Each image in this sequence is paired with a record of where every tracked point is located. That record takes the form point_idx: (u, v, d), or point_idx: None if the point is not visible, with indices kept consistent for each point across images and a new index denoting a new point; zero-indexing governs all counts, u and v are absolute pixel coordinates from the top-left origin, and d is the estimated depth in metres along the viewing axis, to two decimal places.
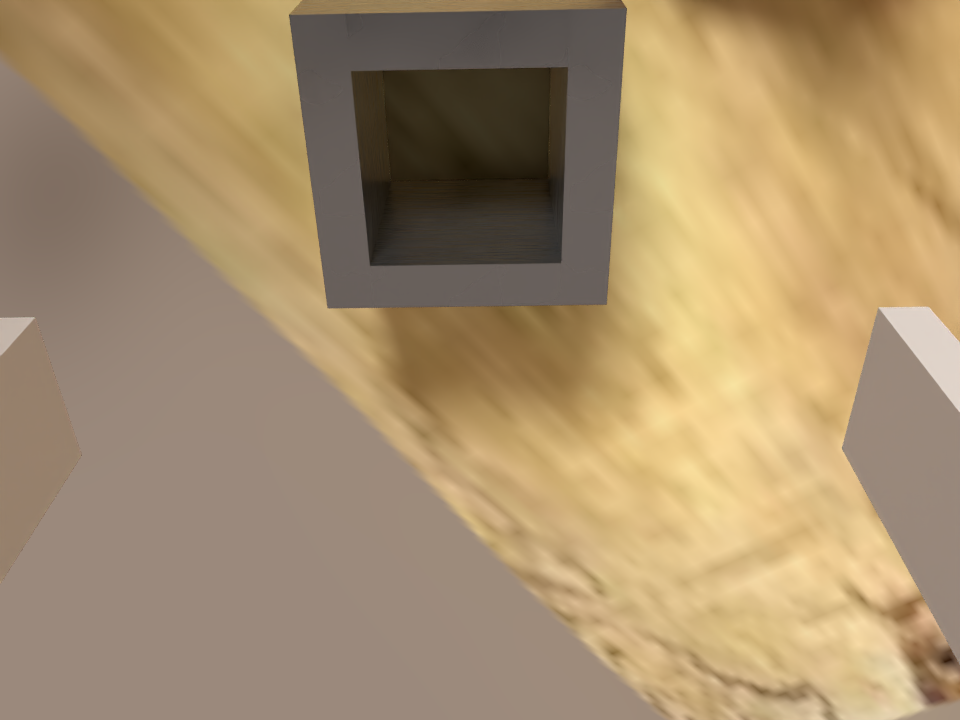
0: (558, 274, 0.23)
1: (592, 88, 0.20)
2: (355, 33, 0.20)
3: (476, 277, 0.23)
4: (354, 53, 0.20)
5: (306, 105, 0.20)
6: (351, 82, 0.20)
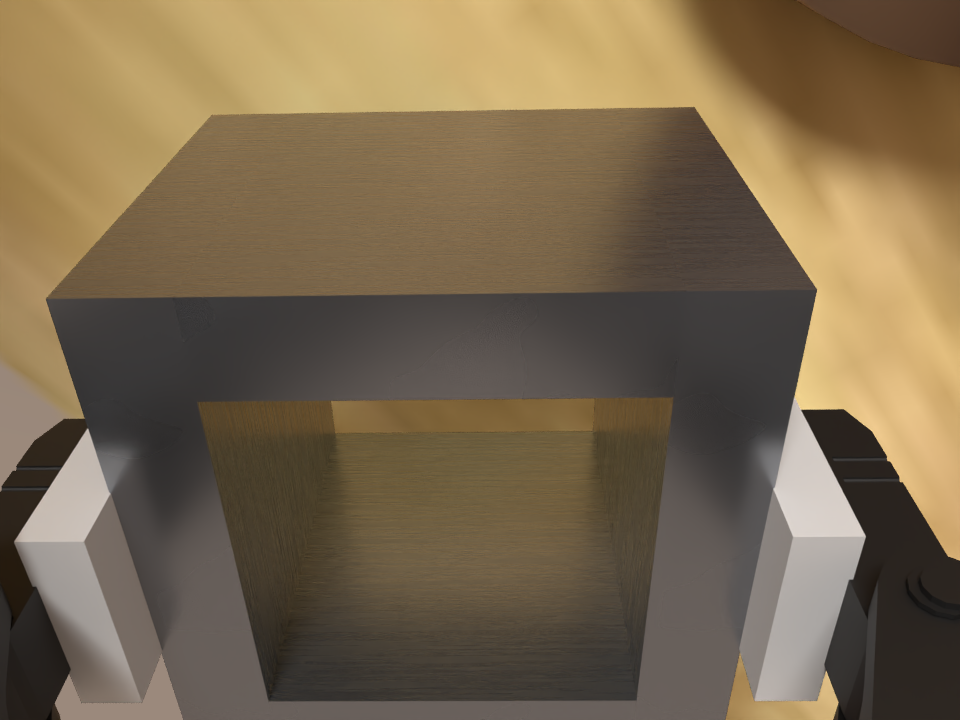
0: (630, 715, 0.12)
1: (722, 433, 0.09)
2: (201, 334, 0.09)
3: (473, 718, 0.12)
4: (202, 370, 0.09)
5: (109, 459, 0.10)
6: (201, 420, 0.09)
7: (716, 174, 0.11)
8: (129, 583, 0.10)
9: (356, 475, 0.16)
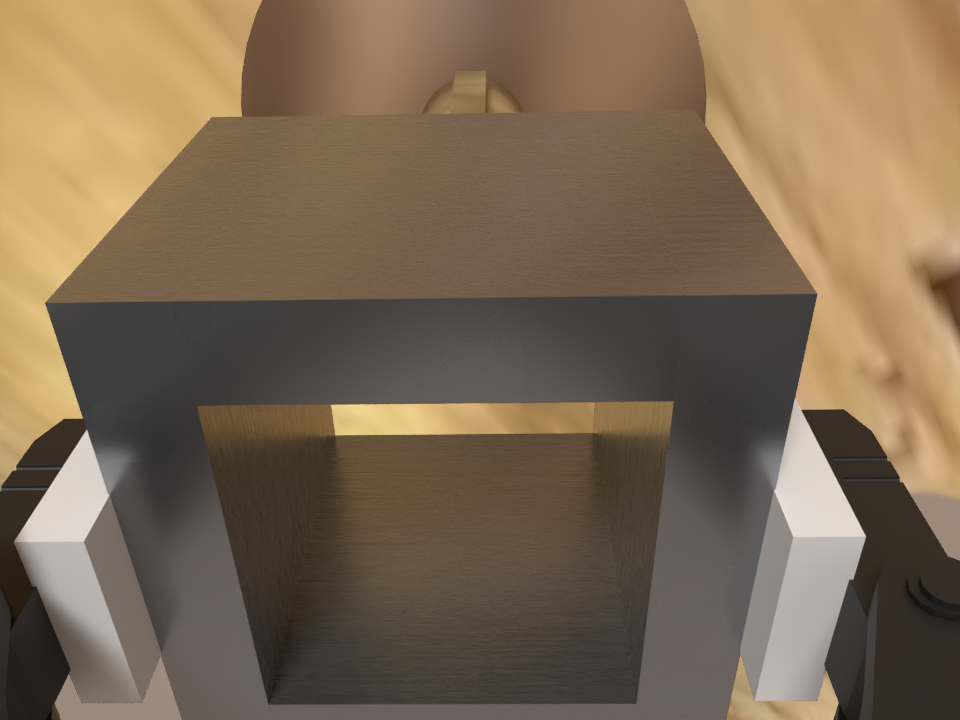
0: (630, 719, 0.12)
1: (723, 438, 0.09)
2: (201, 338, 0.09)
3: None
4: (201, 374, 0.09)
5: (108, 464, 0.10)
6: (201, 424, 0.09)
7: (717, 178, 0.11)
8: (129, 583, 0.10)
9: (356, 477, 0.16)
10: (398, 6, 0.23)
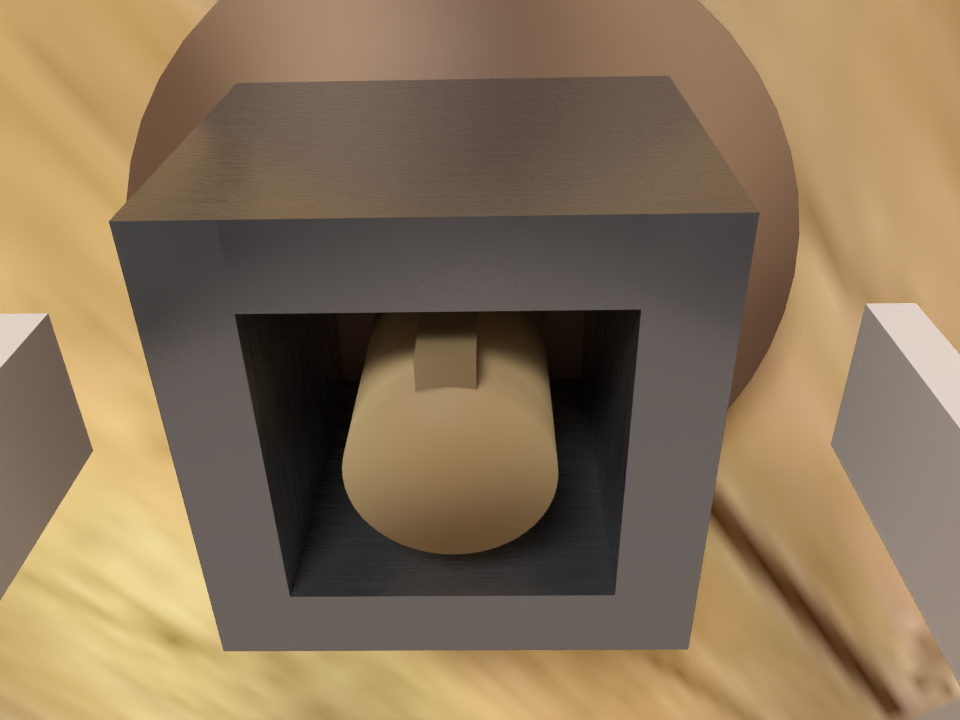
0: (609, 610, 0.13)
1: (684, 344, 0.11)
2: (239, 253, 0.10)
3: (470, 612, 0.14)
4: (239, 285, 0.11)
5: (157, 367, 0.11)
6: (237, 331, 0.11)
7: (684, 128, 0.13)
8: None
9: None
10: None
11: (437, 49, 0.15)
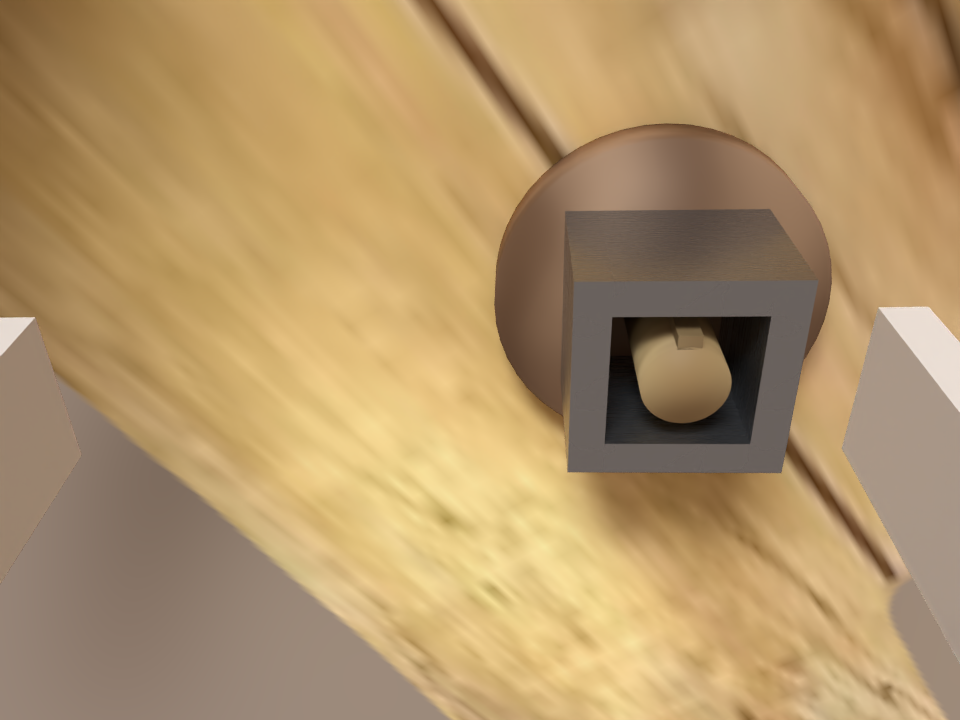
0: (747, 451, 0.30)
1: (787, 330, 0.28)
2: (620, 293, 0.27)
3: (684, 452, 0.30)
4: (616, 306, 0.27)
5: (575, 338, 0.28)
6: (611, 323, 0.28)
7: (783, 240, 0.29)
8: None
9: (609, 372, 0.34)
10: None
11: (662, 197, 0.32)
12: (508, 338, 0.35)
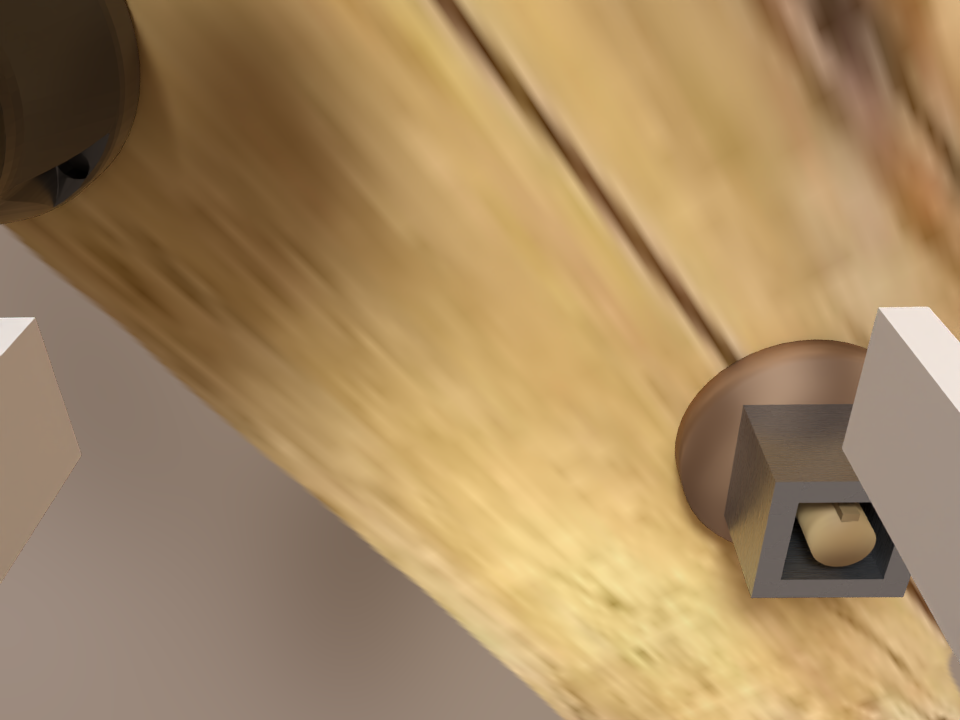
0: (880, 584, 0.43)
1: None
2: (806, 489, 0.39)
3: (836, 584, 0.43)
4: (802, 496, 0.40)
5: (771, 515, 0.40)
6: (797, 506, 0.40)
7: None
8: None
9: None
10: None
11: (814, 396, 0.44)
12: (689, 486, 0.47)
